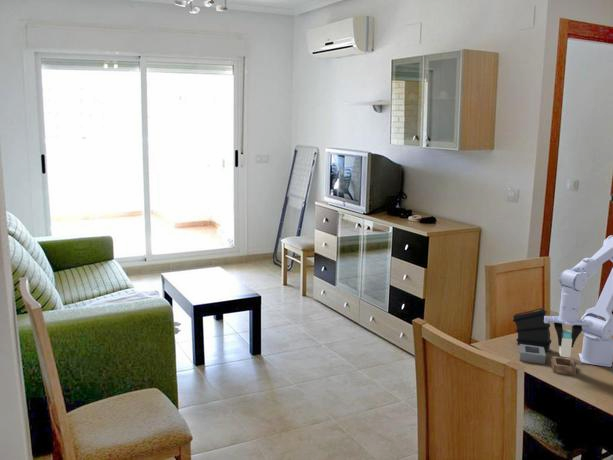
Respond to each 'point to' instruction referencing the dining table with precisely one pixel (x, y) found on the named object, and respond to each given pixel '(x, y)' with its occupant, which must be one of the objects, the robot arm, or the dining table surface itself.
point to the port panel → (532, 354)
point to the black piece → (533, 328)
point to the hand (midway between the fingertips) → (565, 345)
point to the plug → (565, 344)
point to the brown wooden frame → (563, 365)
